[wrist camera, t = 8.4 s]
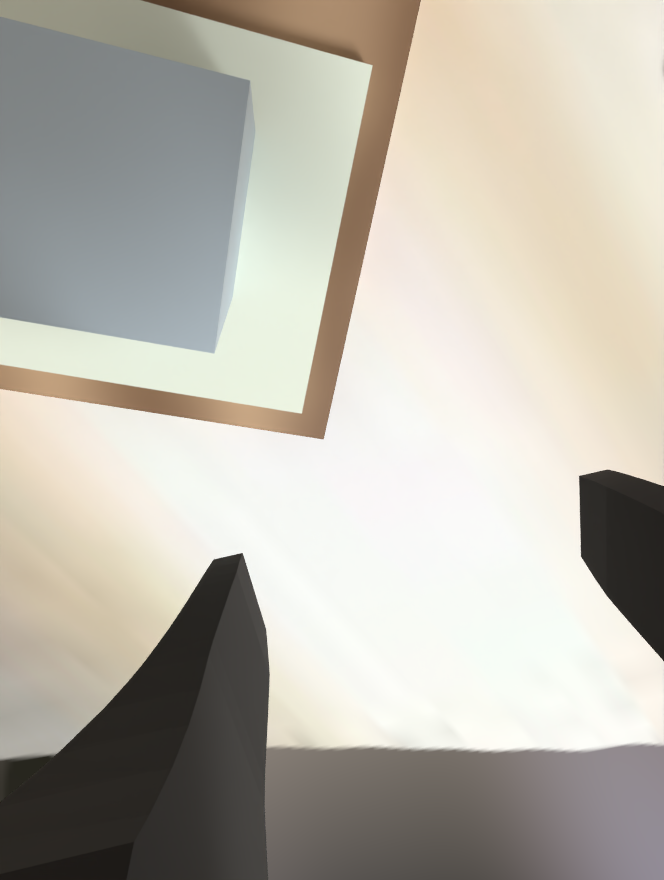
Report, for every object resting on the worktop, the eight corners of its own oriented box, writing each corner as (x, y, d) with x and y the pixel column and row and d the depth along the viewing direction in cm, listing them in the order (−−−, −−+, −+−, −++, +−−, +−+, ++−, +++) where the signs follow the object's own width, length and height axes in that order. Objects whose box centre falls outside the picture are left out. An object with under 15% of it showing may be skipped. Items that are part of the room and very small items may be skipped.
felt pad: (368, 70, 16) (372, 65, 15) (300, 407, 19) (301, 413, 19) (-24, -40, 14) (-35, -49, 13) (-20, 354, 18) (-30, 359, 17)
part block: (255, 131, 16) (250, 80, 9) (232, 297, 17) (214, 353, 11) (81, 89, 15) (-58, 1, 8) (74, 267, 16) (-48, 308, 10)
